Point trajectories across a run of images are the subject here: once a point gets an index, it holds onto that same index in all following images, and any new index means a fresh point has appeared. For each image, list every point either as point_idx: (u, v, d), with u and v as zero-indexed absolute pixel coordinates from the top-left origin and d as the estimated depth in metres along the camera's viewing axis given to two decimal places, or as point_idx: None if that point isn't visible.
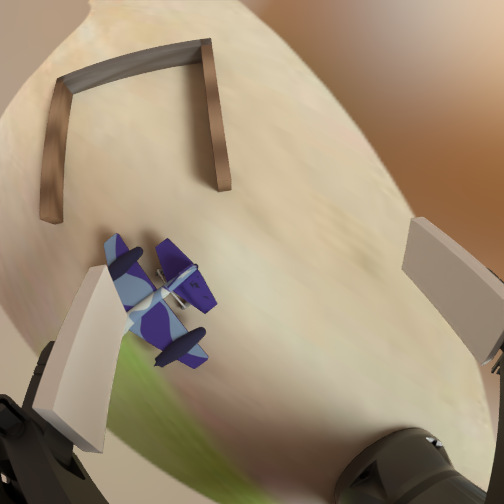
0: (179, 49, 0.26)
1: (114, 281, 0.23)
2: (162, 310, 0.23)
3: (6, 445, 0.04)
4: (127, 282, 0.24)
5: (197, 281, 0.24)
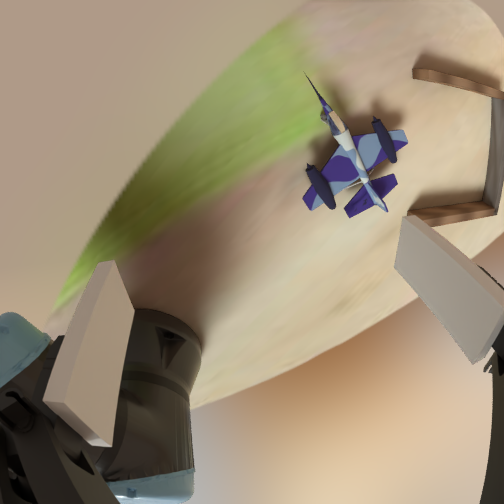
0: (496, 194, 0.31)
1: (377, 136, 0.26)
2: (352, 176, 0.27)
3: (15, 439, 0.04)
4: (374, 148, 0.26)
5: (366, 203, 0.30)
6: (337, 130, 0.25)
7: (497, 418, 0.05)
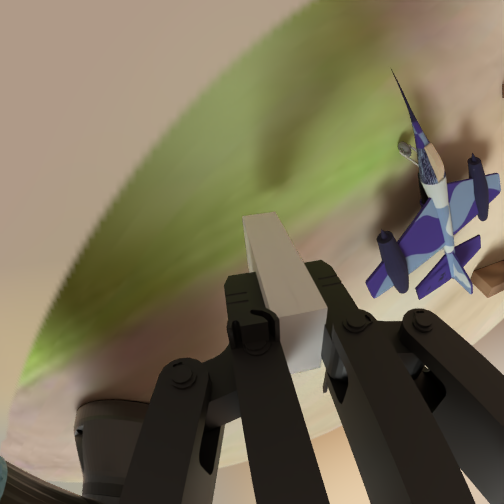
0: None
1: (472, 183, 0.15)
2: (436, 245, 0.16)
3: (235, 359, 0.07)
4: (467, 201, 0.15)
5: (442, 277, 0.18)
6: (432, 177, 0.13)
7: (357, 453, 0.06)
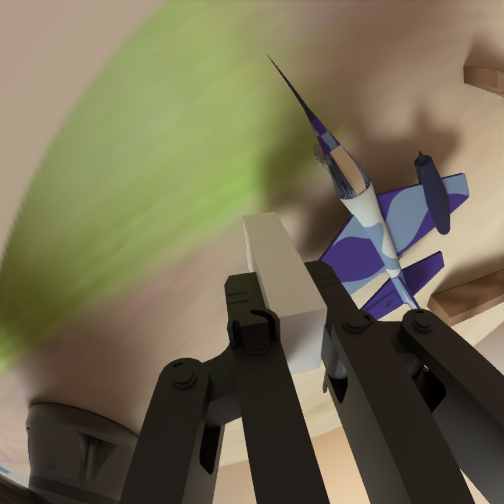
0: None
1: (422, 190, 0.13)
2: (372, 270, 0.15)
3: (235, 358, 0.07)
4: (416, 213, 0.14)
5: (390, 303, 0.17)
6: (348, 190, 0.12)
7: (357, 453, 0.06)
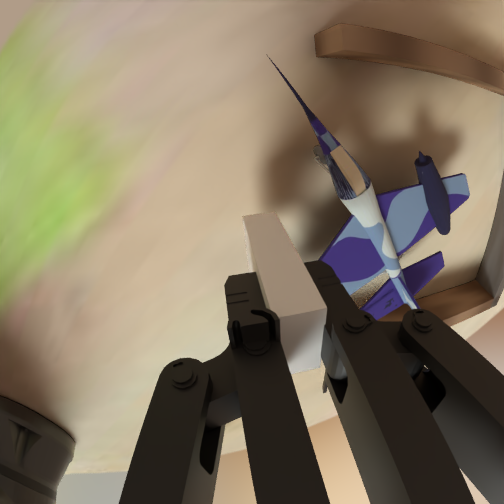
0: (502, 275, 0.18)
1: (423, 190, 0.13)
2: (372, 270, 0.15)
3: (235, 359, 0.07)
4: (416, 213, 0.14)
5: (391, 303, 0.17)
6: (348, 190, 0.12)
7: (357, 453, 0.06)
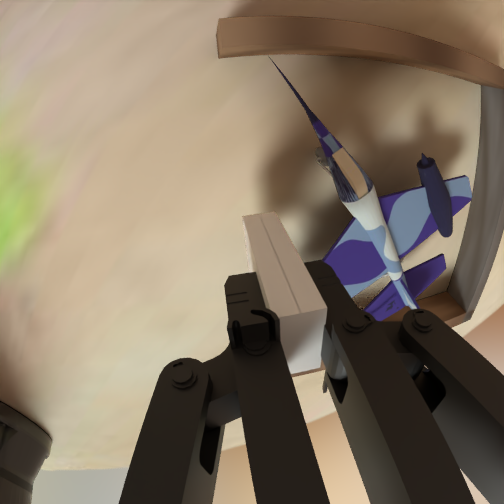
0: (475, 288, 0.17)
1: (425, 192, 0.13)
2: (373, 273, 0.14)
3: (235, 358, 0.07)
4: (418, 215, 0.13)
5: (392, 306, 0.17)
6: (350, 193, 0.12)
7: (357, 453, 0.06)
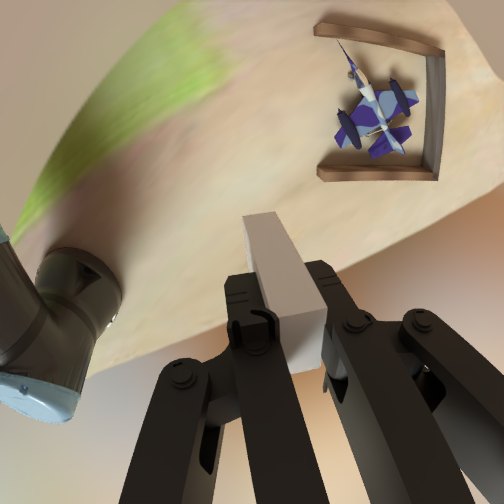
0: (434, 156, 0.33)
1: (393, 92, 0.29)
2: (374, 123, 0.30)
3: (235, 359, 0.07)
4: (391, 102, 0.29)
5: (386, 148, 0.33)
6: (362, 84, 0.28)
7: (357, 453, 0.06)
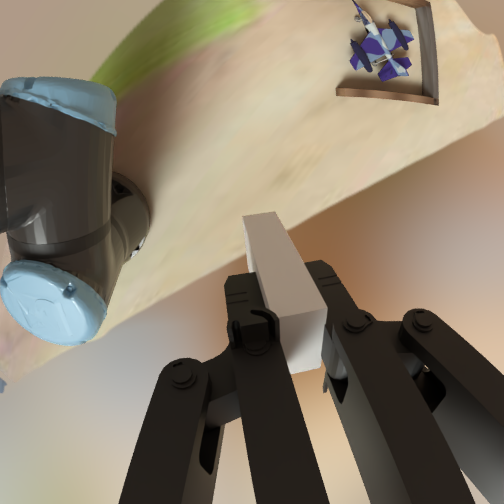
0: (432, 84, 0.34)
1: (392, 30, 0.30)
2: (380, 52, 0.31)
3: (235, 359, 0.07)
4: (392, 38, 0.30)
5: (392, 74, 0.34)
6: (367, 21, 0.29)
7: (357, 453, 0.06)
